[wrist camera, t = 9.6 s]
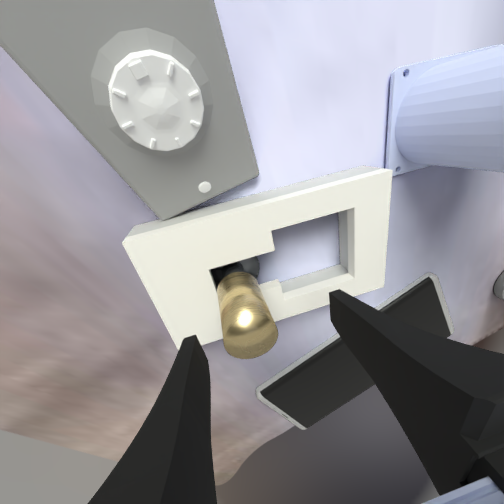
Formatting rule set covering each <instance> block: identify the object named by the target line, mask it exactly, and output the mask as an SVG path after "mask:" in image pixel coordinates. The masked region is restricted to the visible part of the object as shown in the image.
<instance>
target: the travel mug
mask: <svg viewBox="0 0 504 504" xmlns="http://www.w3.org/2000/svg"><path fill="white" fill-rule="evenodd" d="M494 293H495V295H496V296H497V297H499V298H501V299H503V300H504V271H503V272H502V273H501V275H500V276H499V277H498V279H497V281H496V283H495V286H494Z"/></svg>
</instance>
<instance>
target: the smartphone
mask: <svg viewBox="0 0 504 504" xmlns="http://www.w3.org/2000/svg"><path fill="white" fill-rule="evenodd" d="M375 309H377V310H379V311H381V312H383V313H385V314H387V315H389V316H391V317H393V318H395V319H397V320H400V321H402V322H404V323H406V324H409V325H411V326H414V327H416V328H419V329H421V330H424V331H427V332H429V333H432V334H435V335H438V336H441V337H444V338H447V337H449V336H450V335H452V334H453V332H454V327H453V323H452V320H451V317H450V314H449V311H448V308H447V304H446V301H445V298H444V295H443V292H442V288H441V285H440V282H439V279H438V277H437V275H435V274H433V273H431V272H429V273H426V274H424V275H423V276H421V277H420V278H418V279H417V280H415V281H414V282H413V283H411V284H410V285H408V286H407V287H405V288H404V289H402V290H401V291H399V292H398V293H396V294H395V295H393V296H392V297H390V298H389V299H387V300H386V301H384V302H383V303H381V304H380V305H378V306H377V307H375ZM373 385H375V383H374V381H373V380H372V379H371V377H370V376H369V374H368V373H367V372H366V370H365V369H364V368H363V366H362V365H361V364H360V362H359V361H358V360H357V359H356V357H355V356H354V355H353V353H352V352H351V351H350V349H349V348H348V347H347V345H346V344H345V343H344V341H343V340H342V339H341V337H340V335H339V334H338V333H337V334H335V335H334V336H332V337H331V338H329V339H328V340H326V341H325V342H324V343H322V344H321V345H319V346H318V347H316V348H315V349H313V350H312V351H310V352H309V353H307V354H306V355H304V356H303V357H301V358H300V359H298V360H297V361H295V362H294V363H292V364H291V365H290V366H288V367H287V368H285V369H284V370H282V371H281V372H279V373H278V374H276V375H275V376H273V377H272V378H270V379H269V380H267V381H266V382H264V383H263V384H262V385H260V386H259V387H257V389H256V396H257V398H258V399H259V400H260V401H261V402H263V403H264V404H266V405H267V406H268V407H270V408H271V409H273V410H274V411H276V412H277V413H278V414H280V415H281V416H283V417H284V418H285V419H287V420H288V421H290V422H291V423H293V424H294V425H295V426H297V427H298V428H300V429H302V430H304V429H307V428H308V427H310V426H312V425H313V424H314V423H316V422H318V421H319V420H321V419H322V418H324V417H325V416H327V415H328V414H330V413H331V412H333V411H335V410H336V409H338V408H339V407H341V406H342V405H344V404H345V403H347V402H349V401H350V400H351V399H353V398H355V397H356V396H358V395H359V394H361V393H362V392H364V391H365V390H367V389H369V388H370V387H371V386H373Z"/></svg>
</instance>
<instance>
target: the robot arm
mask: <svg viewBox="0 0 504 504" xmlns="http://www.w3.org/2000/svg"><path fill="white" fill-rule="evenodd" d="M404 71H405V76H403V72H404ZM432 165H438V166H448V167H457V168H466V169H476V170H485V171H495V172H504V44H502V45H501V44H498V45H494V46H489V47H485V48H481V49H476V50H472V51H467V52H463V53H458V54H454V55H449V56H445V57H441V58H436V59H432V60H427V61H423V62H418V63H414V64H410V65H405V66H401V67H398V68H396V69H394V70H393V72H392V74H391V81H390V98H389V115H388V131H387V148H386V165H385V169H391V170H393V172H392V176H396V175H399V174H403V173H407V172H410V171H414V170H418V169H421V168H425V167H429V166H432ZM396 168H397V170H396ZM395 170H396V171H395ZM329 302H330V316H331V322H332V323H333V325H334V327H335V329H336V330H337V332H338V334H339V335H340V337H341V339H342V340H343V341H344V343H345V344H346V345H347V347H348V348H349V349H350V351H351V352H352V353H353V355H354V356H355V357H356V359H357V360H358V361H359V362H360V364H361V365H362V366H363V368H364V369H365V370H366V372H367V373H368V374H369V376H370V377H371V379H372V380H373V381H374V383H375V384H376V386H377V387H378V389H379V391H380V392H381V394H382V395H383V397H384V399H385V400H386V402H387V403H388V405H389V407H390V408H391V410H392V412H393V413H394V415H395V416H396V418H397V420H398V421H399V423H400V425H401V426H402V428H403V430H404V432H405V434H406V435H407V437H408V439H409V440H410V442H411V444H412V446H413V447H414V449H415V451H416V453H417V455H418V456H419V458H420V460H421V462H422V463H423V465H424V467H425V469H426V471H427V473H428V475H429V476H430V478H431V480H432V482H433V484H434V486H435V488H436V489H437V492H438V493H439V495H440V496H439V497H436V498H434V499H432V500H429V501H427V502H424V503H422V504H504V354H502V353H497V352H493V351H489V350H485V349H481V348H477V347H474V346H470V345H466V344H463V343H460V342H456V341H453V340H450V339H447V338H444V337H441V336H438V335H435V334H432V333H429V332H427V331H424V330H421V329H419V328H416V327H414V326H411V325H409V324H406V323H404V322H402V321H400V320H397V319H395V318H393V317H391V316H389V315H387V314H385V313H383V312H381V311H379V310H377V309H375V308H373V307H371V306H369V305H367V304H365V303H364V302H362V301H360V300H358V299H356V298H355V297H353V296H351V295H349V294H348V293H346V292H344V291H342V290H340V289H338V290H335V291H332V292H329ZM88 504H217V500H216V491H215V480H214V470H213V459H212V448H211V391H210V373H209V364H208V360H207V357H206V355H205V353H204V351H203V349H202V347H201V344H200V342H199V340H198V338H197V336H196V335H192V336H189V337H186V338H184V339H183V341H182V343H181V346H180V349H179V351H178V354H177V356H176V359H175V361H174V364H173V366H172V368H171V370H170V373H169V375H168V377H167V380H166V382H165V384H164V386H163V388H162V390H161V392H160V394H159V396H158V398H157V400H156V402H155V404H154V406H153V407H152V409H151V411H150V413H149V415H148V416H147V418H146V420H145V422H144V423H143V425H142V427H141V428H140V430H139V432H138V433H137V435H136V436H135V438H134V440H133V441H132V443H131V444H130V446H129V447H128V449H127V450H126V452H125V453H124V455H123V456H122V458H121V459H120V461H119V462H118V463H117V465H116V466H115V468H114V469H113V470H112V472H111V473H110V475H109V476H108V478H107V479H106V480H105V482H104V483H103V484H102V486H101V487H100V488H99V490H98V491H97V492H96V494H95V495H94V496H93V498H92V499H91V500H90V501H89V503H88Z"/></svg>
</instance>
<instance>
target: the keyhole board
mask: <svg viewBox="0 0 504 504" xmlns="http://www.w3.org/2000/svg"><path fill="white" fill-rule="evenodd" d="M392 172H393V170H391V169H384V168H377V167H371V166H364V165H362V166H359V167H355V168H351V169H347V170H344V171H340V172H336V173H332V174H328V175H325V176H321V177H317V178H313V179H310V180H306V181H302V182H298V183H294V184H291V185H287V186H283V187H279V188H276V189H272V190H268V191H264V192H260V193H257V194H253V195H249V196H245V197H242V198H238V199H234V200H230V201H226V202H223V203H219V204H215V205H211V206H208V207H204V208H200V209H196V210H192V211H189V212H185V213H181V214H178V215H176V216H174V217H172V218H169V219H167V220H165V221H162V220H160V219H158V220H155V221H151V222H147V223H143V224H139V225H136V226H134V227H133V229H132V230H131V231H130V233H129V234H128V235H127V237H126V238H125V239H124V241H123V242H122V244H123V246H124V248H125V250H126V252H127V253H128V255H129V257H130V259H131V261H132V263H133V265H134V267H135V269H136V271H137V272H138V274H139V276H140V278H141V280H142V282H143V284H144V286H145V288H146V290H147V291H148V293H149V295H150V297H151V299H152V301H153V303H154V305H155V307H156V309H157V310H158V312H159V314H160V316H161V318H162V320H163V322H164V324H165V326H166V328H167V329H168V331H169V333H170V335H171V337H172V339H173V341H174V343H175V345H176V347H177V348H178V350H179V349H180V346H181V343H182V341H183V339H184V338H186V337H189V336H192V335H196V336H197V338H198V340H199V342H200V344H201V345H204V344H207V343H210V342H213V341H217V340H220V339H223V334H222V326H221V318H220V311H219V303H218V295H217V287H216V285H215V282H214V279H213V276H212V273H211V270H210V269H213V268H216V267H220V266H223V265H227V264H230V263H234V262H237V261H241V260H244V259H247V258H251V257H254V256H258V255H261V254H265V253H268V252H272V251H275V249H274V243H273V238H272V232H271V231H273V230H276V229H280V228H283V227H287V226H290V225H294V224H297V223H301V222H304V221H308V220H312V219H315V218H319V217H322V216H326V215H329V214H333V213H336V212H338V221H339V250H340V264H339V265H335V266H332V267H329V268H325V269H322V270H319V271H316V272H312V273H309V274H306V275H302V276H299V277H296V278H293V279H289V280H286V281H283V282H279V281H278V279H276V280H273V281H269V282H266V283H263V284H259V287H260V289H261V292H262V294H263V296H264V299H265V301H266V303H267V306H268V308H269V311H270V313H271V315H272V318H273V320H274V322H276V321H279V320H282V319H285V318H288V317H292V316H295V315H298V314H301V313H304V312H307V311H310V310H313V309H316V308H320V307H323V306H326V305H329V304H330V302H329V292H332V291H335V290H338V289H340V290H342V291H344V292H346V293H348V294H349V295H351V296H353V297H354V296H357V295H360V294H363V293H366V292H370V291H373V290H376V289H379V288H382V287H384V279H385V266H386V253H387V239H388V226H389V213H390V199H391V186H392Z"/></svg>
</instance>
